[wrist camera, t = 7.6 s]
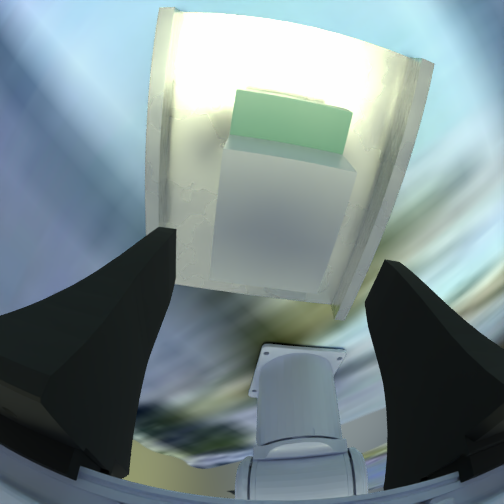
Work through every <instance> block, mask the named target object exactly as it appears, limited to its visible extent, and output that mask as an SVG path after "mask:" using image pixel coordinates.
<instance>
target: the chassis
mask: <svg viewBox="0 0 504 504" xmlns="http://www.w3.org/2000/svg"><path fill="white" fill-rule="evenodd" d="M433 69H434V63H431V62H429V61H427V60H425V59H423V58H409V57H406V56H404V55H401V54H399V53H396V52H393V51H391V50H388V49H385V48H382V47H380V46H377V45H374V44H371V43H368V42H365V41H362V40H358V39H355V38H352V37H348V36H345V35H341V34H338V33H334V32H330V31H326V30H322V29H318V28H314V27H309V26H305V25H300V24H295V23H290V22H284V21H278V20H272V19H265V18H258V17H250V16H241V15H231V14H218V13H197V12H182V11H180V10H179V9H177V8H175V7H165V8H159V12H158V19H157V25H156V32H155V39H154V47H153V55H152V64H151V74H150V84H149V96H148V111H147V129H146V157H145V213H146V236H147V235H148V234H149V233H150V232H152V231H153V230H155V229H156V228H157V227H166V228H173V229H177V231H176V280H175V284H178V285H185V286H191V287H198V288H205V289H212V290H219V291H226V292H233V293H240V294H248V295H255V296H263V297H271V298H279V299H287V300H296V301H304V302H313V303H322V304H331V307H332V311H333V315H334V320H345V318H346V316H347V314H348V312H349V310H350V308H351V306H352V304H353V302H354V300H355V297H356V295H357V293H358V291H359V289H360V287H361V284H362V282H363V280H364V278H365V276H366V273H367V271H368V269H369V266H370V264H371V262H372V259H373V257H374V255H375V252H376V250H377V248H378V245H379V243H380V240H381V238H382V235H383V233H384V230H385V228H386V225H387V222H388V220H389V217H390V215H391V212H392V209H393V207H394V204H395V201H396V198H397V195H398V193H399V190H400V187H401V184H402V181H403V178H404V175H405V172H406V169H407V166H408V163H409V160H410V157H411V153H412V150H413V147H414V143H415V140H416V137H417V133H418V130H419V126H420V122H421V119H422V115H423V111H424V107H425V103H426V99H427V95H428V91H429V87H430V82H431V78H432V73H433ZM237 88H243V89H250V90H257V91H264V92H270V93H276V94H282V95H287V96H292V97H297V98H302V99H307V100H312V101H316V102H321V103H325V104H329V105H333V106H338V107H341V108H345V109H348V110H349V111H351V112H353V115H352V119H351V123H350V128H349V132H348V136H347V140H346V144H345V147H344V151H343V156H344V157H345V158H346V159H347V161H348V162H349V163H350V164H351V165H352V167H353V168H354V169H355V170H356V172H357V176H356V180H355V183H354V186H353V190H352V193H351V196H350V199H349V203H348V206H347V209H346V212H345V215H344V218H343V221H342V224H341V228H340V231H339V234H338V237H337V239H336V242H335V245H334V248H333V251H332V254H331V257H330V260H329V263H328V265H327V268H326V271H325V274H324V277H323V279H322V282H321V285H320V287H319V290H318V293H317V294H313V293H304V292H296V291H288V290H280V289H272V288H265V287H257V286H250V285H242V284H235V283H228V282H221V281H214V280H209V277H210V266H211V255H212V244H213V234H214V224H215V214H216V205H217V196H218V187H219V178H220V170H221V161H222V153H223V148H224V146H225V143H226V141H227V139H228V137H229V135H230V128H231V121H232V114H233V107H234V100H235V94H236V89H237Z"/></svg>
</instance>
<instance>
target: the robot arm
mask: <svg viewBox="0 0 504 504" xmlns="http://www.w3.org/2000/svg"><path fill="white" fill-rule="evenodd" d="M176 231H177V229H173V228H166V227H157V228H156V229H155V230H153V231H152V232H150V233H149V234H148V235H147V236H145V237H144V238H143V239H141V240H140V241H139V242H137V243H136V244H135V245H133V246H132V247H131V248H129V249H128V250H127V251H125V252H124V253H122V254H121V255H120V256H118V257H117V258H115V259H114V260H112V261H111V262H109V263H108V264H106V265H105V266H103V267H102V268H101V269H99V270H98V271H96V272H94V273H93V274H91V275H90V276H88V277H86V278H85V279H83V280H81V281H79V282H77V283H76V284H74V285H72V286H70V287H68V288H66V289H64V290H62V291H60V292H58V293H56V294H54V295H52V296H50V297H48V298H46V299H43V300H41V301H39V302H36V303H34V304H32V305H29V306H27V307H24V308H21V309H19V310H16V311H13V312H10V313H7V314H4V315H1V316H0V504H504V349H503V348H501V347H500V346H498V345H497V344H495V343H494V342H492V341H491V340H489V339H488V338H487V337H485V336H484V335H483V334H481V333H480V332H479V331H477V330H476V329H475V328H474V327H472V326H471V325H470V324H469V323H467V322H466V321H465V320H464V319H463V318H462V317H460V316H459V315H458V314H457V313H456V312H455V311H454V310H453V309H451V308H450V307H449V306H448V305H447V304H446V303H445V302H444V301H443V300H442V299H441V298H440V297H438V296H437V295H436V294H435V293H434V292H433V291H432V290H431V289H430V288H429V287H428V286H427V285H426V284H425V283H424V282H423V281H421V280H420V279H419V278H418V277H417V276H416V275H415V274H414V273H413V272H411V271H410V270H409V269H408V268H407V267H405V266H404V265H403V264H401V263H400V262H397V261H391V260H384V262H383V265H382V267H381V269H380V271H379V273H378V275H377V278H376V280H375V282H374V284H373V286H372V288H371V290H370V292H369V294H368V296H367V298H366V300H365V308H366V316H367V322H368V328H369V331H370V335H371V339H372V342H373V346H374V350H375V353H376V357H377V360H378V364H379V368H380V372H381V376H382V380H383V385H384V392H385V401H386V411H387V429H388V438H387V463H386V474H385V482H384V491H379V492H374V493H368V477H367V470H366V464H365V460H364V457H363V455H362V453H360V452H359V451H358V450H357V449H356V448H354V447H351V448H347V441H346V439H342V433H341V425H340V418H339V410H338V403H337V397H336V390H335V383H334V377H333V376H334V374H335V373H336V371H337V369H338V368H339V366H340V365H341V363H342V361H343V360H344V358H345V356H346V351H345V350H342V349H325V348H311V347H299V346H287V345H277V344H264V345H263V346H262V348H261V352H260V355H259V359H258V362H257V365H256V369H255V372H254V376H253V379H252V382H251V386H250V389H249V393H248V395H249V396H250V397H256V398H257V432H256V441H257V446H256V447H253V457H250V456H248V457H246V458H245V459H244V460H243V461H242V462H241V463H240V464H239V466H238V469H237V474H236V482H235V499H230V498H219V497H210V496H202V495H195V494H188V493H181V492H176V491H170V490H165V489H160V488H156V487H151V486H147V485H143V484H138V483H134V482H130V481H127V480H123V479H122V478H124V477H126V476H127V475H129V467H130V457H131V448H132V440H133V433H134V427H135V420H136V414H137V409H138V404H139V398H140V393H141V389H142V384H143V380H144V375H145V371H146V367H147V363H148V360H149V357H150V354H151V351H152V348H153V346H154V343H155V340H156V338H157V335H158V332H159V330H160V327H161V325H162V322H163V319H164V317H165V314H166V311H167V309H168V306H169V303H170V300H171V296H172V292H173V288H174V284H175V280H176Z"/></svg>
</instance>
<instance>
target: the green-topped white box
mask: <svg viewBox="0 0 504 504" xmlns="http://www.w3.org/2000/svg"><path fill="white" fill-rule="evenodd" d="M352 115H353V112H351V111H349V110H348V109H345V108H341V107H338V106H333V105H329V104H325V103H321V102H316V101H312V100H307V99H302V98H297V97H292V96H287V95H282V94H276V93H270V92H264V91H257V90H250V89H243V88H237V89H236V94H235V100H234V107H233V114H232V121H231V128H230V135H229V137H228V139H227V141H226V143H225V146H224V148H223V153H222V161H221V170H220V178H219V187H218V196H217V205H216V214H215V224H214V234H213V244H212V255H211V266H210V277H209V280H214V281H221V282H228V283H235V284H242V285H250V286H257V287H265V288H272V289H280V290H288V291H296V292H304V293H313V294H317V293H318V290H319V287H320V285H321V282H322V279H323V277H324V274H325V271H326V268H327V265H328V263H329V260H330V257H331V254H332V251H333V248H334V245H335V242H336V239H337V237H338V234H339V231H340V228H341V224H342V221H343V218H344V215H345V212H346V209H347V206H348V203H349V199H350V196H351V193H352V190H353V186H354V183H355V180H356V176H357V172H356V170H355V169H354V168H353V167H352V165H351V164H350V163H349V162H348V161H347V159H346V158H345V157H344V156H343V151H344V147H345V144H346V140H347V136H348V132H349V128H350V123H351V119H352Z"/></svg>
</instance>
